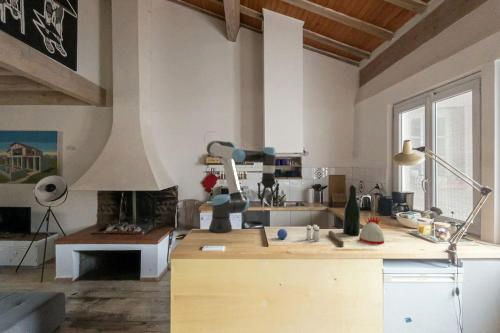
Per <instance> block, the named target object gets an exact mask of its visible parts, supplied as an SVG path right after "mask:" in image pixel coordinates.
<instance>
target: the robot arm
mask: <svg viewBox="0 0 500 333" xmlns="http://www.w3.org/2000/svg"><path fill="white" fill-rule="evenodd" d="M206 152H207V154H208V155H209V156H211V157H215V158H219V160H220V162H221V163H222V166H223V171H224V174H225V179H226V185H227V189H228V194H225V193H224V194H217V195H215V196H214V197H213V198H212V202H211V204H212V209H211V212H212V213H211V220H210V221H211V222H210V224H209V227H208V230H209V232H211V233H216V234H218V233H219V234H222V233H223V234H226V233H230V232H232V231H233V226H232V222H231V219H230V218H231V217H230V215H231V214H241V213H245V212H247V211H248V210H249V207H250V198H249V197H248V196H247V195H245V193H244V191H243V190H242V189H241V185H240V179H239V176H238V171H237V166H236V163H255V164H256V163H257V164H259V163H260V164H261V163H262V174H261V176H262V177H261V178H262V180H261V181H260V182H257V199H258V200H260V206H262V212H265V200H264V197H265V194H266V193H265V192H266V191H267V190H266V189H270V193H271V198H272V199H271V201H270V205H271V206H270V212H273V209H274V208H273V207H274V206H275V203H276V202H275V201H277V200H278V199H279V187H280V183H278V182H276V179H275V178H276V174H275V173H276V148H275V147H272V146H265V147H263V148H262V150H249V149H241V148H238V147H237V146H236V144H235V143H234V142H231V141H224V140H223V141H221V140H212V141H210V142H209V143H208V144H207V146H206ZM235 162H236V163H235ZM261 186H262V187H263V189H262V194H261ZM274 186H275V193H274V189H273V187H274Z"/></svg>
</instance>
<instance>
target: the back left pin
mask: <svg viewBox="0 0 500 333" xmlns="http://www.w3.org/2000/svg"><path fill="white" fill-rule="evenodd" d="M315 227H318V225H317V224H313V225H312V240H315Z"/></svg>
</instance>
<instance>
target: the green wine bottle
mask: <svg viewBox="0 0 500 333" xmlns="http://www.w3.org/2000/svg"><path fill="white" fill-rule="evenodd" d="M348 189H349V190H348V191H349V192H348V199H347V202H346V204H345V206H344V212H343V225H342V226H343V227H342V232H343V234H344V235H346V234H347V236H360V233H361V227H360V226H361V211H360V206H359V203H358V200H357V187H356V184H350V185H349V188H348Z"/></svg>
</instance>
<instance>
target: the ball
mask: <svg viewBox="0 0 500 333" xmlns="http://www.w3.org/2000/svg"><path fill="white" fill-rule="evenodd" d="M287 236H288V232H287V230H286V229H284V228H280V229H278V230H277V237H278V238H279V239H281V240H285V239H286V238H287Z"/></svg>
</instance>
